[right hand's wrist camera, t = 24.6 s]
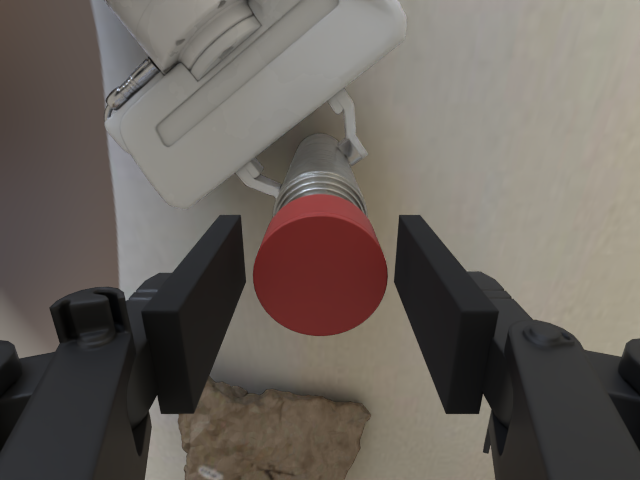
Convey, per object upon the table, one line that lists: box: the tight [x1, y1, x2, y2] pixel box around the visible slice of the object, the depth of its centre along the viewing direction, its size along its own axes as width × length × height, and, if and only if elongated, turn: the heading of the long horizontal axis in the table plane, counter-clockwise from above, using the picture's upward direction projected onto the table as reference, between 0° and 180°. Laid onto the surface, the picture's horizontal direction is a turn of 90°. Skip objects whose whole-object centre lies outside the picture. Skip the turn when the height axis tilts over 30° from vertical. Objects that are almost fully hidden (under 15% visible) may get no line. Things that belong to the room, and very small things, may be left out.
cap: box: [253, 194, 388, 336], centre depth 13 cm, size 4×4×3 cm
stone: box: [178, 376, 371, 480], centre depth 42 cm, size 21×15×6 cm
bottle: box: [273, 133, 368, 218], centre depth 23 cm, size 4×4×23 cm
